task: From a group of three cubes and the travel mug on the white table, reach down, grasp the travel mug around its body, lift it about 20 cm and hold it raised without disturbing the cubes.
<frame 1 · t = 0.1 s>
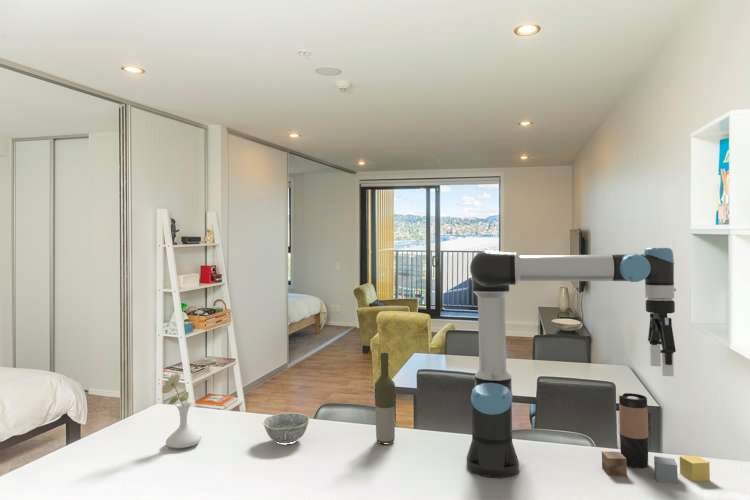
hand: (661, 370, 146), 28 cm above the kitchen counter, fingers open, 13 cm apart
travel mug: (634, 464, 148), on the kitchen counter
bottle: (385, 442, 167), on the kitchen counter
mustard cube: (694, 477, 138), on the kitchen counter
walnut cube: (614, 472, 142), on the kitchen counter
flower in vase: (181, 446, 166), on the kitchen counter
bowl: (286, 442, 169), on the kitchen counter
slate grey cube: (665, 478, 137), on the kitchen counter
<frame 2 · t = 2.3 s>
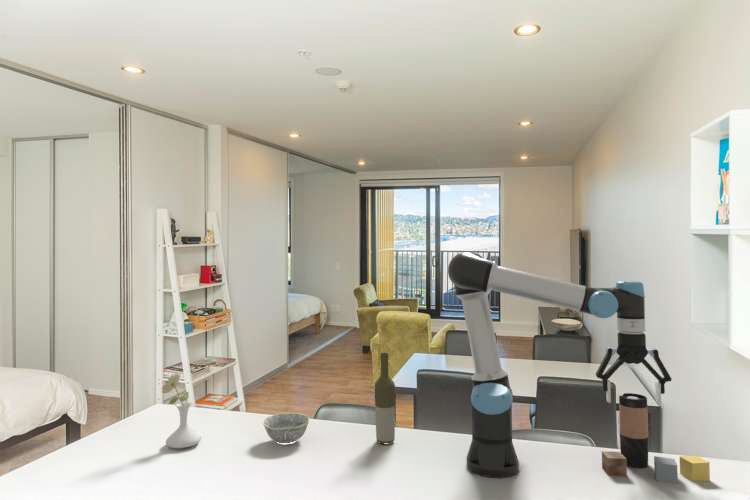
hand: (633, 403, 148), 18 cm above the kitchen counter, fingers open, 13 cm apart
nothing on the kitchen counter moved.
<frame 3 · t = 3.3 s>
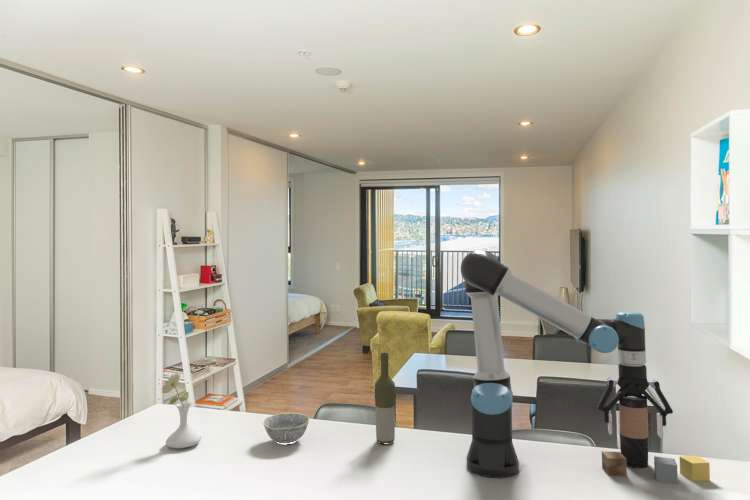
hand: (634, 435, 148), 8 cm above the kitchen counter, fingers open, 13 cm apart
nothing on the kitchen counter moved.
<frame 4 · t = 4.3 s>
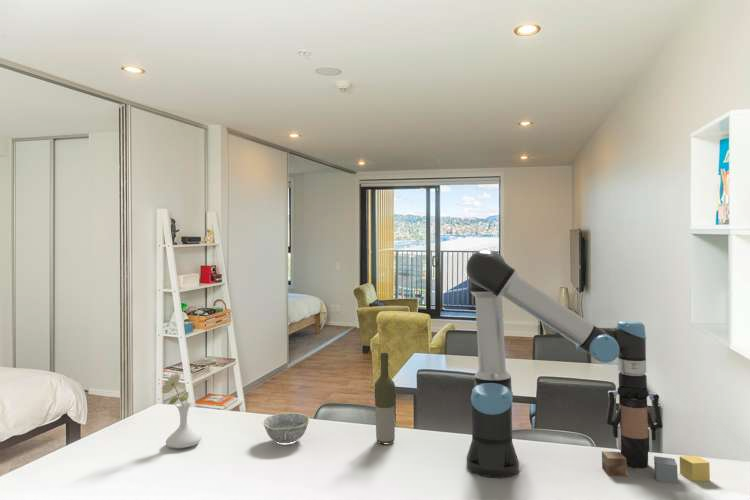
hand: (634, 449, 148), 4 cm above the kitchen counter, fingers closed on travel mug, 8 cm apart
travel mug: (634, 464, 148), on the kitchen counter, touching gripper
everything else where it was.
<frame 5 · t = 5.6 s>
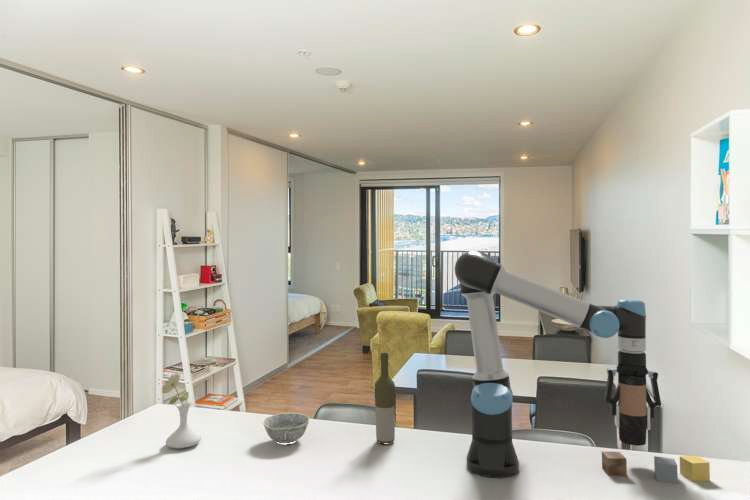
hand: (632, 427, 148), 11 cm above the kitchen counter, fingers closed on travel mug, 8 cm apart
travel mug: (632, 441, 148), point 6 cm above the kitchen counter, touching gripper
everything else where it was.
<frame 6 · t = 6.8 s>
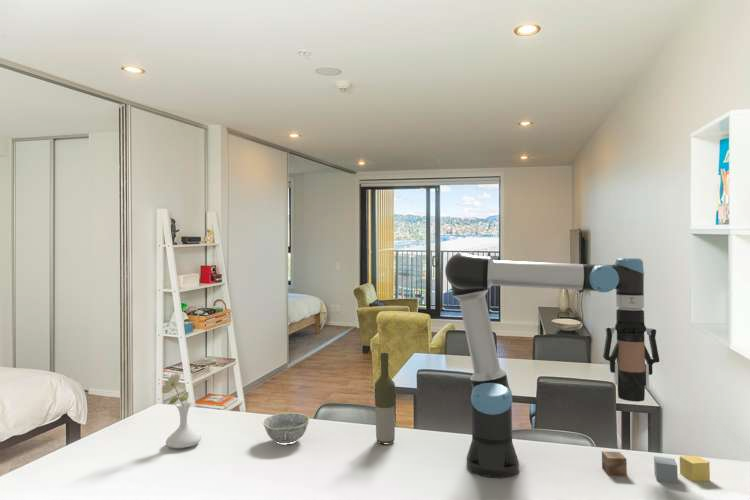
hand: (630, 384, 149), 23 cm above the kitchen counter, fingers closed on travel mug, 8 cm apart
travel mug: (631, 398, 149), point 19 cm above the kitchen counter, touching gripper
everything else where it was.
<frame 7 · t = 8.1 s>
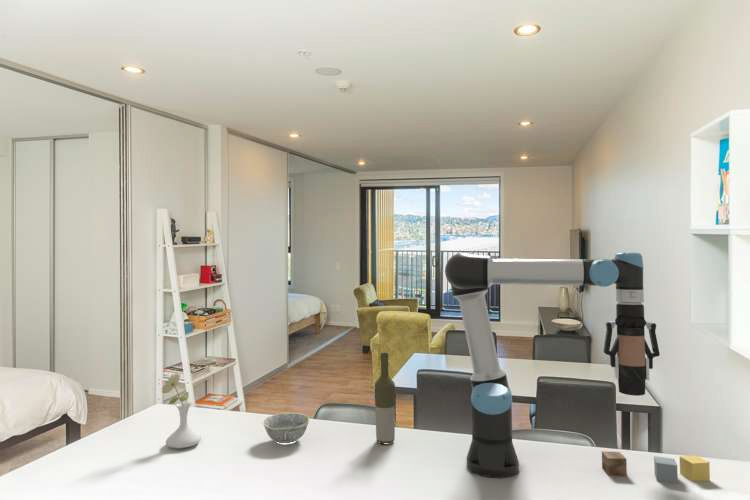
hand: (631, 378, 149), 25 cm above the kitchen counter, fingers closed on travel mug, 8 cm apart
travel mug: (631, 393, 149), point 21 cm above the kitchen counter, touching gripper
everything else where it was.
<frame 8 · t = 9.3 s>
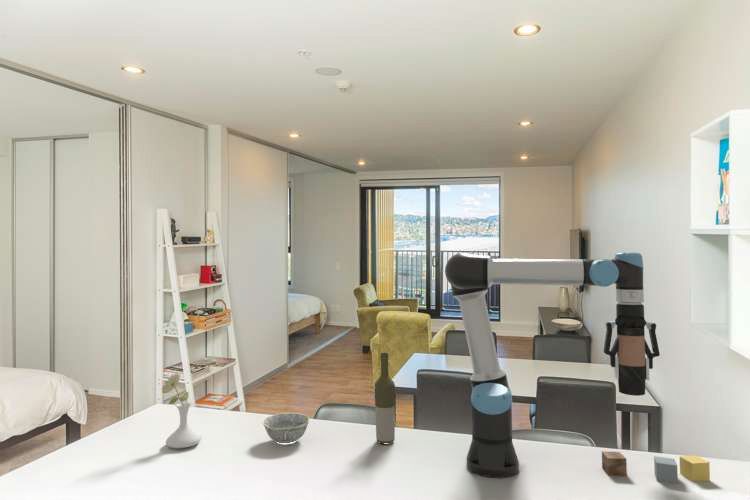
hand: (631, 378, 149), 25 cm above the kitchen counter, fingers closed on travel mug, 8 cm apart
travel mug: (631, 393, 149), point 21 cm above the kitchen counter, touching gripper
everything else where it was.
at the end: the gripper is holding travel mug; travel mug point 20.7 cm above the kitchen counter; slate grey cube moved 0.1 cm from its start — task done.
